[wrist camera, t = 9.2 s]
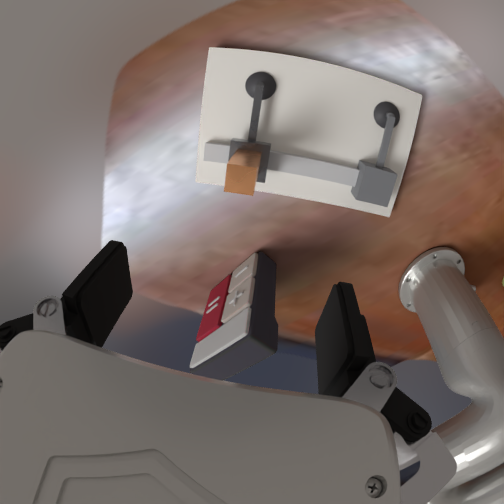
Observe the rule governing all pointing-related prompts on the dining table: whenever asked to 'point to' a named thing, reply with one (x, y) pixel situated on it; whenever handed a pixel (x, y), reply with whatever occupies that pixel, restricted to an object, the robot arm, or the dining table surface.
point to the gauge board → (309, 127)
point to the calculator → (238, 321)
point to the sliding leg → (248, 155)
